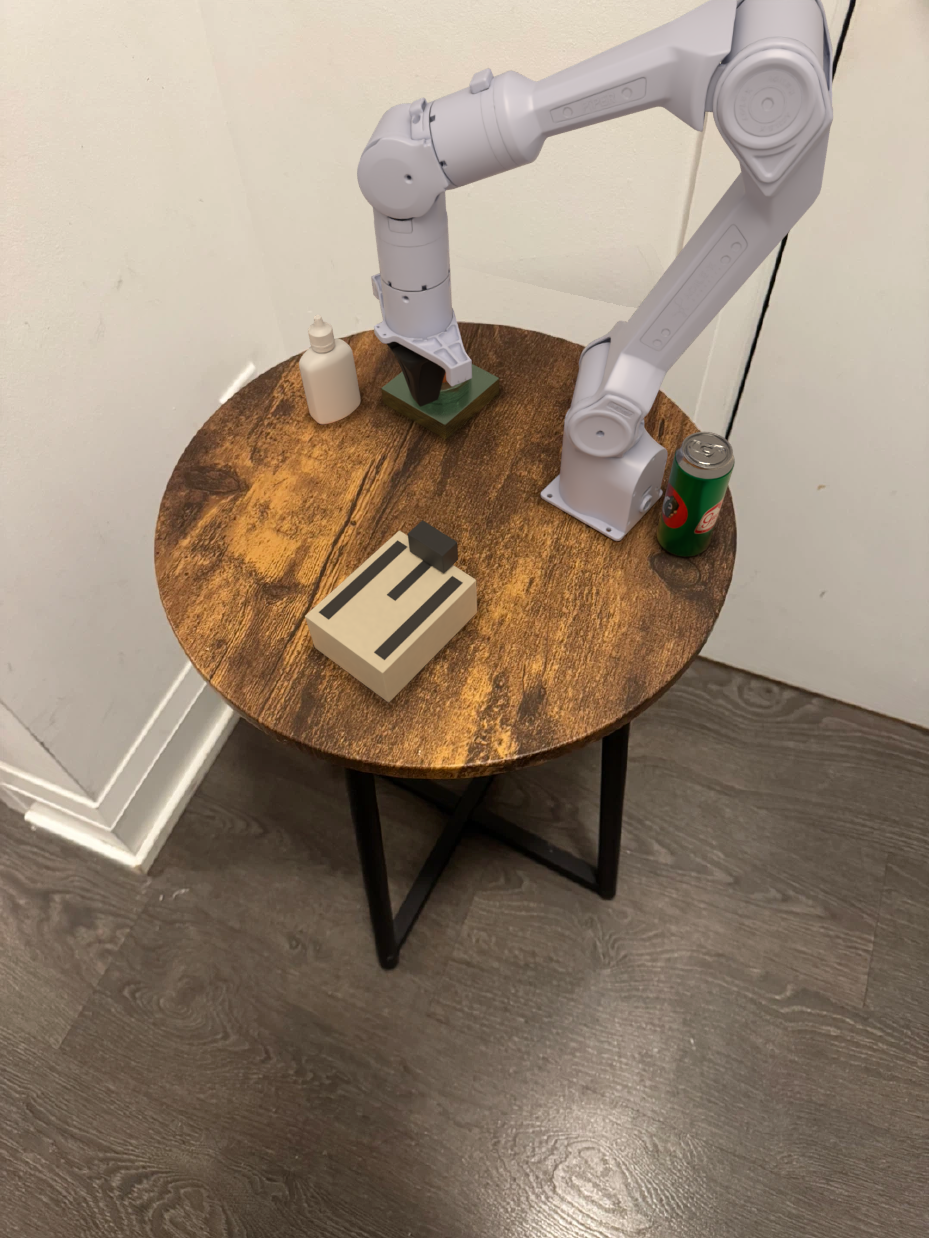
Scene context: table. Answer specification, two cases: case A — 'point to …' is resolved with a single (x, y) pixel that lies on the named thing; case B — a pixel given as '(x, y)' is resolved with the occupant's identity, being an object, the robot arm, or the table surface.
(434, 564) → the block
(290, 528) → the table surface
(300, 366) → the eye dropper bottle
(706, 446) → the soda can
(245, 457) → the table surface
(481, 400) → the panel
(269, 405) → the table surface
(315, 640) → the toaster
